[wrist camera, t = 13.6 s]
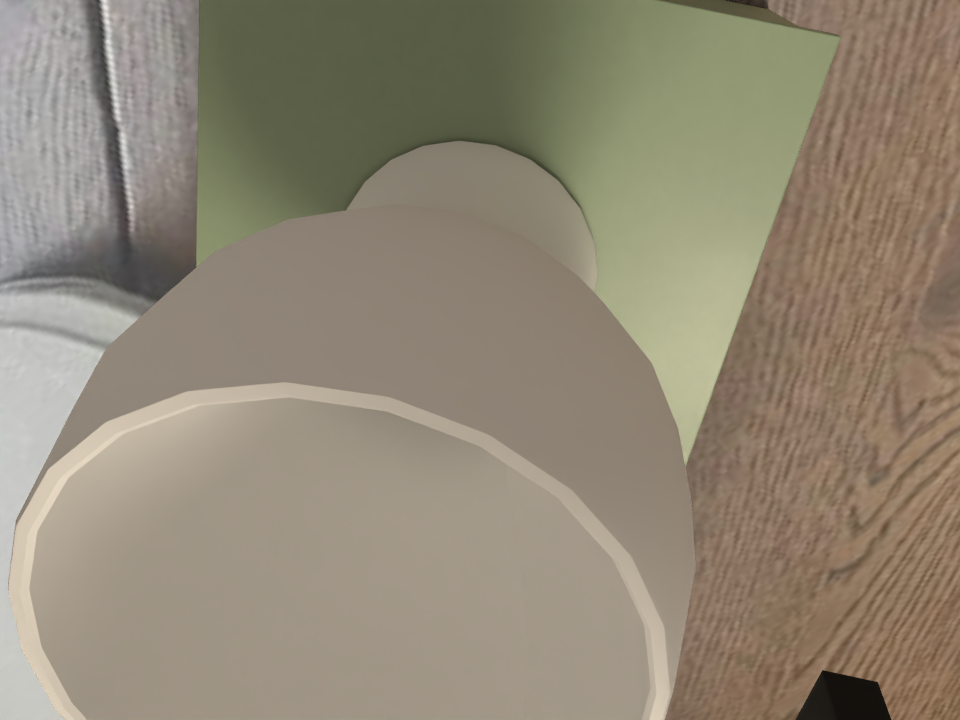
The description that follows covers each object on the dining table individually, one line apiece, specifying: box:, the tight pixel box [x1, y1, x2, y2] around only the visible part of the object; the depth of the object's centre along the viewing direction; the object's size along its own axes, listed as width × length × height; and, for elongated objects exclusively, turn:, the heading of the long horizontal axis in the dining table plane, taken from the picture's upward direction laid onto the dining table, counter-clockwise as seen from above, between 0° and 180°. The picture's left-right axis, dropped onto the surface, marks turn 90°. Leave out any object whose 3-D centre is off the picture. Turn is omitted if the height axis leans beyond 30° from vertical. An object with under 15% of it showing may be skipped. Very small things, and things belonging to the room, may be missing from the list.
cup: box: [8, 141, 695, 720], centre depth 19 cm, size 11×11×15 cm
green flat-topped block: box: [196, 0, 840, 468], centre depth 29 cm, size 16×16×8 cm
